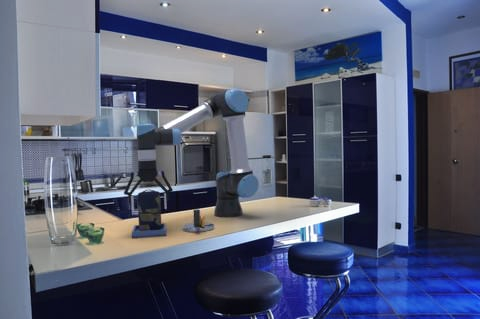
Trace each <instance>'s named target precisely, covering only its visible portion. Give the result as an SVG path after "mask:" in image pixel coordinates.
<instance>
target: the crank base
mask: <svg viewBox="0 0 480 319" xmlns="http://www.w3.org/2000/svg"><path fill="white" fill-rule="evenodd" d="M205 219H206V218H205V216H204V215H200V229H195V227H194V222H190V223H185V224H183V225H182V226H181V227H182V231H184V232H187V233H205V232H209V231H213V230H214V229H215V224H214V223H213V222H207V221H206V220H205ZM205 221H206V222H205Z"/></svg>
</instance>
